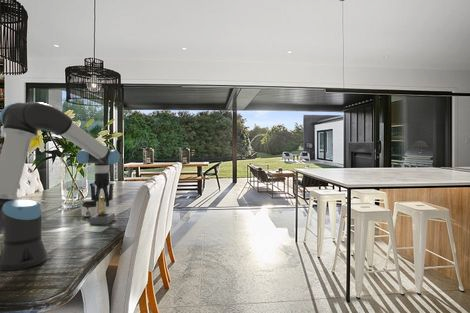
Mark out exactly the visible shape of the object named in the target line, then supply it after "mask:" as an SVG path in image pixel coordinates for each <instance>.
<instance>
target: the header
mask: <svg viewBox="0 0 470 313" xmlns="http://www.w3.org/2000/svg"><path fill="white" fill-rule="evenodd" d="M115 215H116V214H115V213H113V212H106V216H98V213H97V214H95V215H93V216H91V217H90V218H89V224H90V225H109V224H110V223H111V222H113V220H114V221H115V219H116V216H115Z"/></svg>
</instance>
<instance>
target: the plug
mask: <svg viewBox="0 0 470 313" xmlns="http://www.w3.org/2000/svg"><path fill="white" fill-rule="evenodd" d="M105 201H106V200H105V196H99V197H98V216H106V213H107V212H106V213H104V202H105Z"/></svg>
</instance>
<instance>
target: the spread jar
mask: <svg viewBox="0 0 470 313" xmlns="http://www.w3.org/2000/svg"><path fill="white" fill-rule="evenodd" d="M95 214H97V213H96V207H95V201H94V200H91V197H86V198H84V202H82V204H81V215H82V217H84V218H85V219H87V218H88V219H90V217H91V216H93V215H95Z"/></svg>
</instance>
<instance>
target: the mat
mask: <svg viewBox="0 0 470 313" xmlns="http://www.w3.org/2000/svg"><path fill="white" fill-rule="evenodd" d="M107 229H109V226H100V225H99V226H90V227H89V228H88V229H85V230H84V231H83V232H84V233H102V232H104V231H106V230H107Z"/></svg>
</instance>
